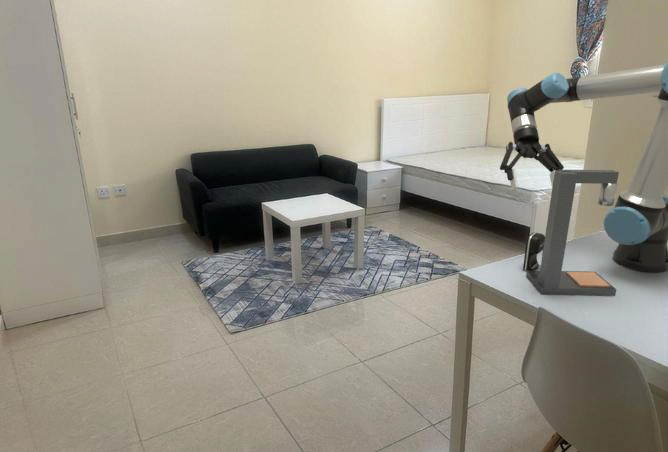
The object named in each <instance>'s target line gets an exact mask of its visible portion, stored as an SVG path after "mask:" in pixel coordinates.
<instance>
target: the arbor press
mask: <svg viewBox="0 0 668 452" xmlns="http://www.w3.org/2000/svg"><path fill="white" fill-rule="evenodd" d="M619 175H620V172H619V171H616V170H614V169H562V170H558V171H555V174H554V180H553V187H552V186H551V189H552V190H551V195H550V202H549V207H548V214H547V221H546V228H545V229H546V230H545V234H544V236H545V241H544V248H543V250H542V254H541V255H542V256H541V262H540V268H539V269H540V270H535V271H530V270H527V271H526V273H525V274H526V275H525V277H526V279H527V280H528V281H529V282H530V284H532V286H533V287H534V289H536V291H537V292H538V293H539V294H540V295H542V296H543V295H544V296H545V295H547V296H551V295H552V296H587V297H588V296H589V297H590V296H594V297H595V296H596V297H597V296H599V297H600V296H601V297H616V294H617V289H616V288H615V287H614V286H613V285H612V284H611V283H610V282H608V281H607V280H606V279H605V278H604V277H602V276H601V275H600V274H599V273H597V272H596V271H594V272H595V273H596V274H597V275H598V276H599V277H600V278H602V279H603V280H604V281H605V282H606V283H608V284H609V285H610V287H583V286H579V285H578V284H577V283H576V282H575V281H574V280H573V279H572V278H571V277H570V276H569V275H568V274H567V272H590V271H585V270H584V271H580V270H578V271H577V270H576V271H573V270H572V271H571V270H563V264H564V257H565V254H566V253H565V251H566V245H567V239H568V234H569V228H570V221H571V216H572V210H573V204H574V199H575V198H574V196H575V191H576V186H577V185H576V184H593V185H594V184H597V185H598V184H600V189H599V196H598V202H597V205H600V206H604V207H614V206H615V204H614V203H615V199H616V194H617V188H618V185H619V184H618V178H619Z"/></svg>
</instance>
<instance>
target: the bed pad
mask: <svg viewBox="0 0 668 452" xmlns="http://www.w3.org/2000/svg"><path fill="white" fill-rule="evenodd" d="M595 272H596V271H589V272H567V274H568V275H569V276H570V277H571V278H572V279H573V280H574V281H575V282H576V283H577V284H578V285H579V286H583V287H610V285H609V284H610V283H609V282H608V283H609V284H608V283H606V282H605V281H604V280H603V279H604V278H603V277H602V278H603V279H602V278H600V277H599V276H598V275H597V274H598V273H597V272H596V273H597V274H596V273H595Z"/></svg>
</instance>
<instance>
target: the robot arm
mask: <svg viewBox="0 0 668 452" xmlns="http://www.w3.org/2000/svg"><path fill="white" fill-rule="evenodd" d="M656 93H659V94H658V96H657V101H658V102H659V104H660V109H659V112H658V114H657V116H656V118H655V122H654V123H653V126H652V129H651V131H650V134H649V136H648V139H647V141H646V143H645V146H644V148H643V151H642V154H641V155H640V158H639V161H638V164H637V165H636V168H635V171H634V173H633V176H632V177H631V181H630V183H629V186H628V188H627V189H625V190H623V191H621V192H620V193H619V194H618V197H617V199H616V202H615V204H614V206H613V208H611V209H610V210H609V211H608V212H607V213H606V215H605V217H604V219H603V227H604V230H605V232H606V234H607V236H608V237H609V239H611V240H612V241H613V242H615V243H618V245H617V246H616V248H615V250H614V251H613V255H612V260H613V262H615V263H616V264H618V265H620V266H622V267H624V268H627V269H630V270H634V271H640V272H645V273H646V272H647V273H662V272H667V271H668V195H667V194H665V192H666V190H667V188H668V61H666V63H665V64H660V65H653V66H646V67H640V68H633V69H626V70H620V71H619V70H618V71H611V72H604V73H598V74H592V75H583V76H577V77H570V78H566V77H565V76H564V75H563V74H561V73H560V72H554V73H551V74H550V75H548V76H546V77H544V78H543V79H542V80H541V81H539V82H538V83H536V84H534V85H533V86H532V87H530V88H528V89H527V88H526V87H525V88H524V87H519V88H517V89H513V90H512V91H510V92H509V94H508V95H507V98H506V100H507V110H508V112H509V117H510V124H511V130H512V135H513V137H512V138H513V142H512V141H509V142H508V143H507V144H506V146H505V153H504V157H503V159H502V161H501V164H500V166H499V169H500V171H504V173H505V174H506V177H507V180H508V181H510V186H511V191H512V192H515V191H516V190H517V189H518V188H519V183H518V180H517V171H516V168H514V166H515V165H516V164H517V162H518V161H519V160H520V159H521V157H522V158H523V159H534V160H535V161H537V162H539V163H540V164H541V165H542V166H544V168H546V169H547V170H548V171H549V172H550V173H549V174H548V175H549V179H550V182H551V183H550V184H551V188H552V187H553V180H554V174H555V171H558V170H564V169H565V167H564V165H563V164H562V162H561V161H560V160H559V158H558V157H557V156H556V154H555V153H554V152H553V150H552V148H551V145H550V144H549V143H546V144H542V145H541V144H540V136H539V132H538V125H537V121H536V117H535V112H537V111H539V110H541V109H542V108H544V107H546V106H547V105H549V104H554V103H555V104H556V103H571V102H578V101H585V100H596V99H606V98H613V97H614V98H616V97H625V96H633V95H634V96H635V95H644V94H645V95H646V94H656ZM514 150H515V151H516V152H517V154H516V156H515V157H514V158H513V159H512V161H511V162H510V163H509V160H510V159H511V158H510V157H511V156H512V153H513V151H514ZM508 163H509V164H508Z"/></svg>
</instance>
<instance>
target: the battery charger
mask: <svg viewBox="0 0 668 452" xmlns="http://www.w3.org/2000/svg"><path fill="white" fill-rule="evenodd" d="M544 241H545V234H543V233H540V232H539V233H538V232H537V231H536V232H534V231H533V232H532V233H531V234H529V235H528V237H527V238H526V242H525V243H526V244H525V249H524V258H523V266H522V270H523V271H526V272H527V270H530V271H537V269H538V268H539V267H540V264H539V261H538V259H537V257H538V254H540V253H541V252H543V248H544Z"/></svg>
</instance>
